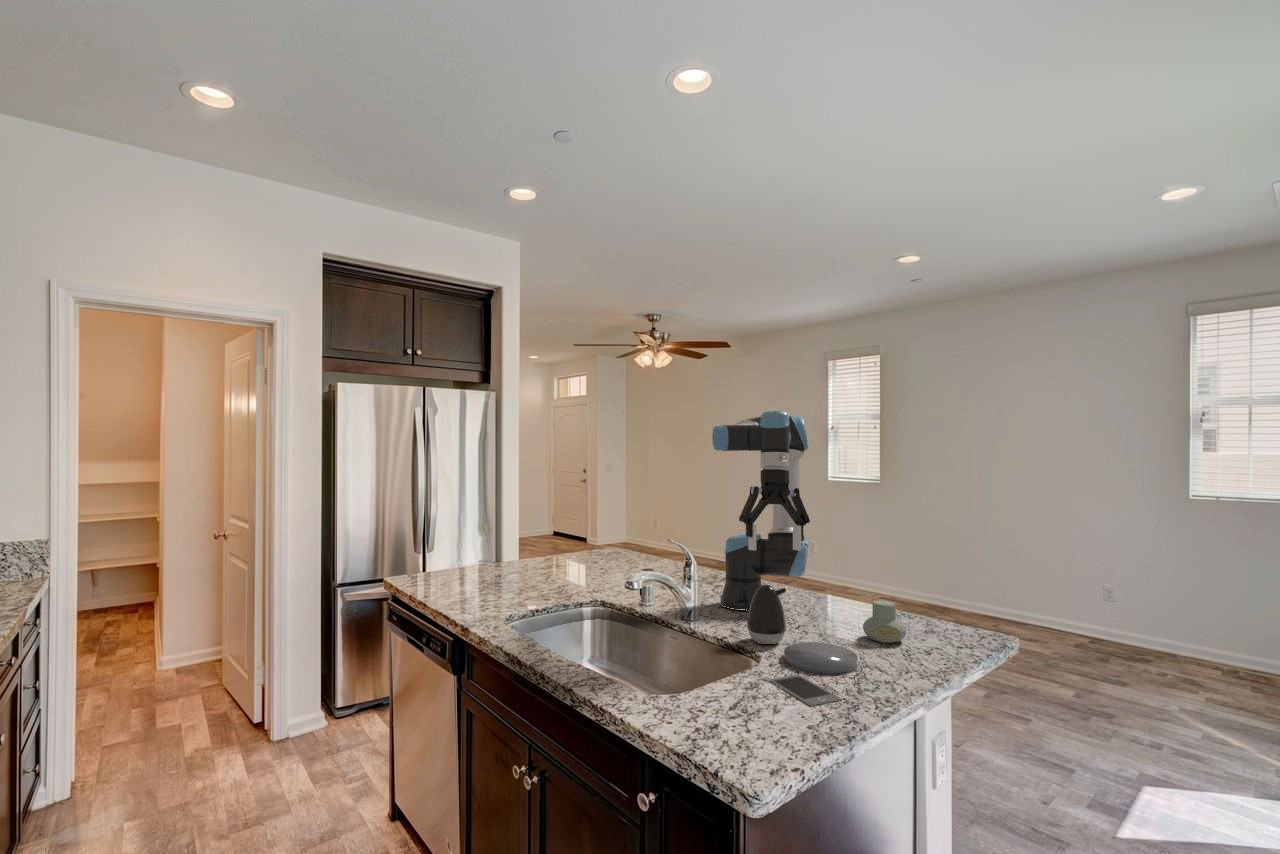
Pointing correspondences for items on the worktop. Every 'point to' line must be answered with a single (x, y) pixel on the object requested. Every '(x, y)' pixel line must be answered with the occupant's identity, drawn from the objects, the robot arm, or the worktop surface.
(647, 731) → the worktop surface
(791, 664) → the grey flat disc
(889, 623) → the air freshener
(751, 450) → the robot arm
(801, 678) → the smartphone
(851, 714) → the worktop surface
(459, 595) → the worktop surface
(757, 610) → the pump dispenser
